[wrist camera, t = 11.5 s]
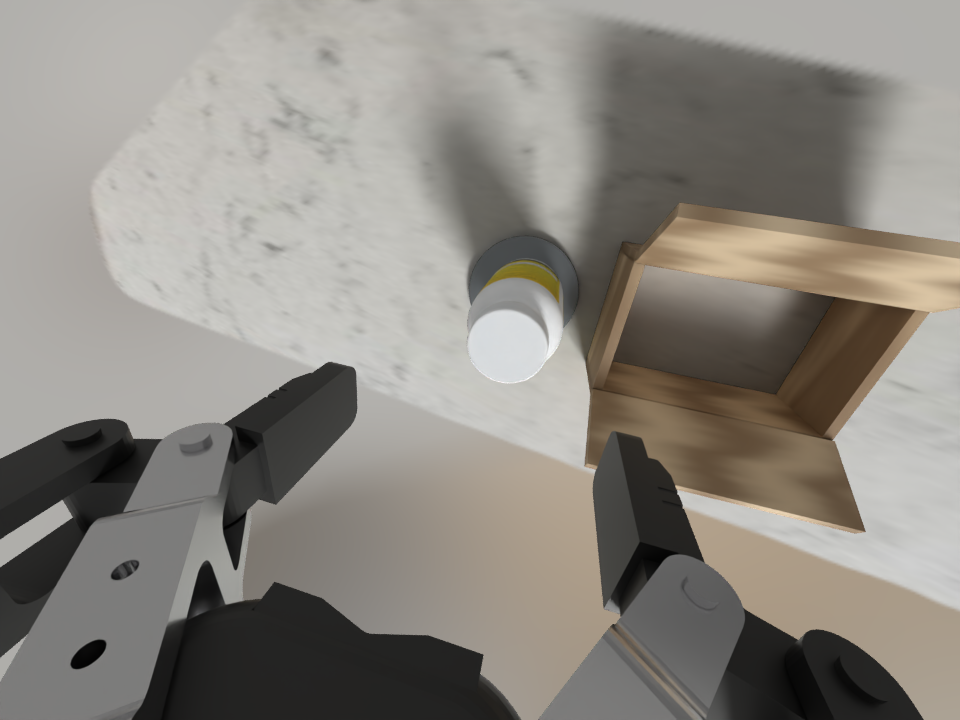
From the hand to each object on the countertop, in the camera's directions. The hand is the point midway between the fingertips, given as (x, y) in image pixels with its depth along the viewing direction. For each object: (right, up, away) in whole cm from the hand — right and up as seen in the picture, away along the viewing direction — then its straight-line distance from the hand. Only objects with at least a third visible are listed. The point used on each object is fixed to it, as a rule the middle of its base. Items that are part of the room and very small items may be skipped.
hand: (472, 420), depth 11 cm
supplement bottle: (+4, +7, +15) cm, 17 cm away
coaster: (+3, +7, +15) cm, 17 cm away
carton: (+16, +4, +13) cm, 21 cm away
